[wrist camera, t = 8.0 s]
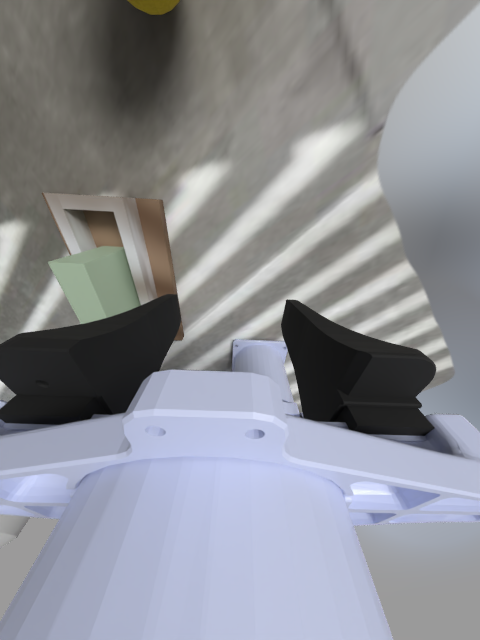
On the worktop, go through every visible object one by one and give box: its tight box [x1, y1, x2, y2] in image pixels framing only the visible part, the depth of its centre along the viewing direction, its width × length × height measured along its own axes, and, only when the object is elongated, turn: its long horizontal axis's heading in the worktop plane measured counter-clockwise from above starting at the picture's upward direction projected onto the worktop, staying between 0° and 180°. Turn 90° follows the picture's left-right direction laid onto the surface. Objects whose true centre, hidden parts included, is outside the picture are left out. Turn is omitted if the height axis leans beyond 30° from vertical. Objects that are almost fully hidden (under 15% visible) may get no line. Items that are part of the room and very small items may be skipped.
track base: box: [42, 193, 184, 340], centre depth 19 cm, size 16×10×3 cm, turn 177°
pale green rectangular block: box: [48, 246, 141, 324], centre depth 17 cm, size 8×2×6 cm, turn 177°
